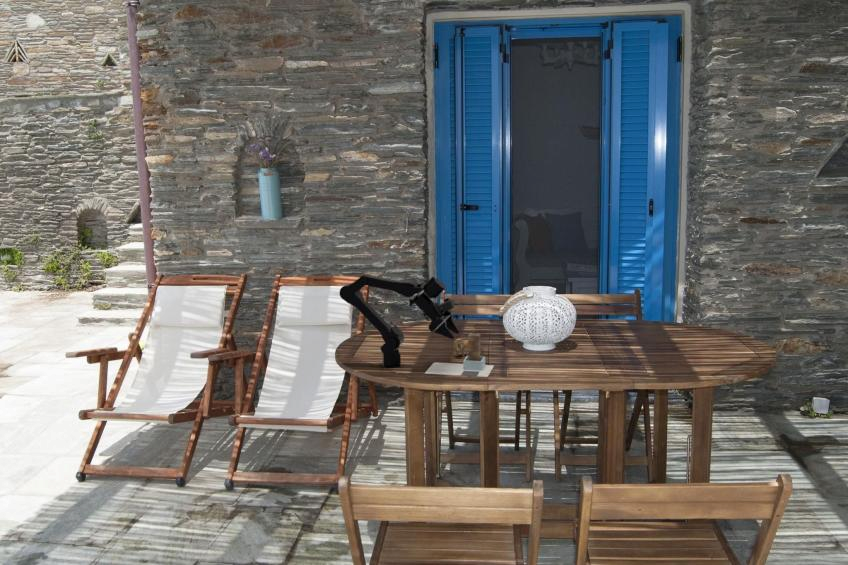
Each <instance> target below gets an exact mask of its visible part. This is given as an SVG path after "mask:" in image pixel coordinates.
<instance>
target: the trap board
mask: <svg viewBox="0 0 848 565" xmlns="http://www.w3.org/2000/svg"><path fill="white" fill-rule="evenodd" d="M494 367H495V365H494V364H493V365H492V364H490V365H489V364H485V367H484V368H483V370H482V371H480V370H463V363H454V362H453V363H452V362H451V363H450V362H437V361H436V362H433V363H432V364H431V365H430V367H429V368H428V369H427V370H426V371H425V372H424V374H426V375H427V374H429V375H445V376H465V377H466V376H467V377H480V378H481V377H484V378H488V376H489V375H490V373H492V370H493V368H494Z"/></svg>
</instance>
